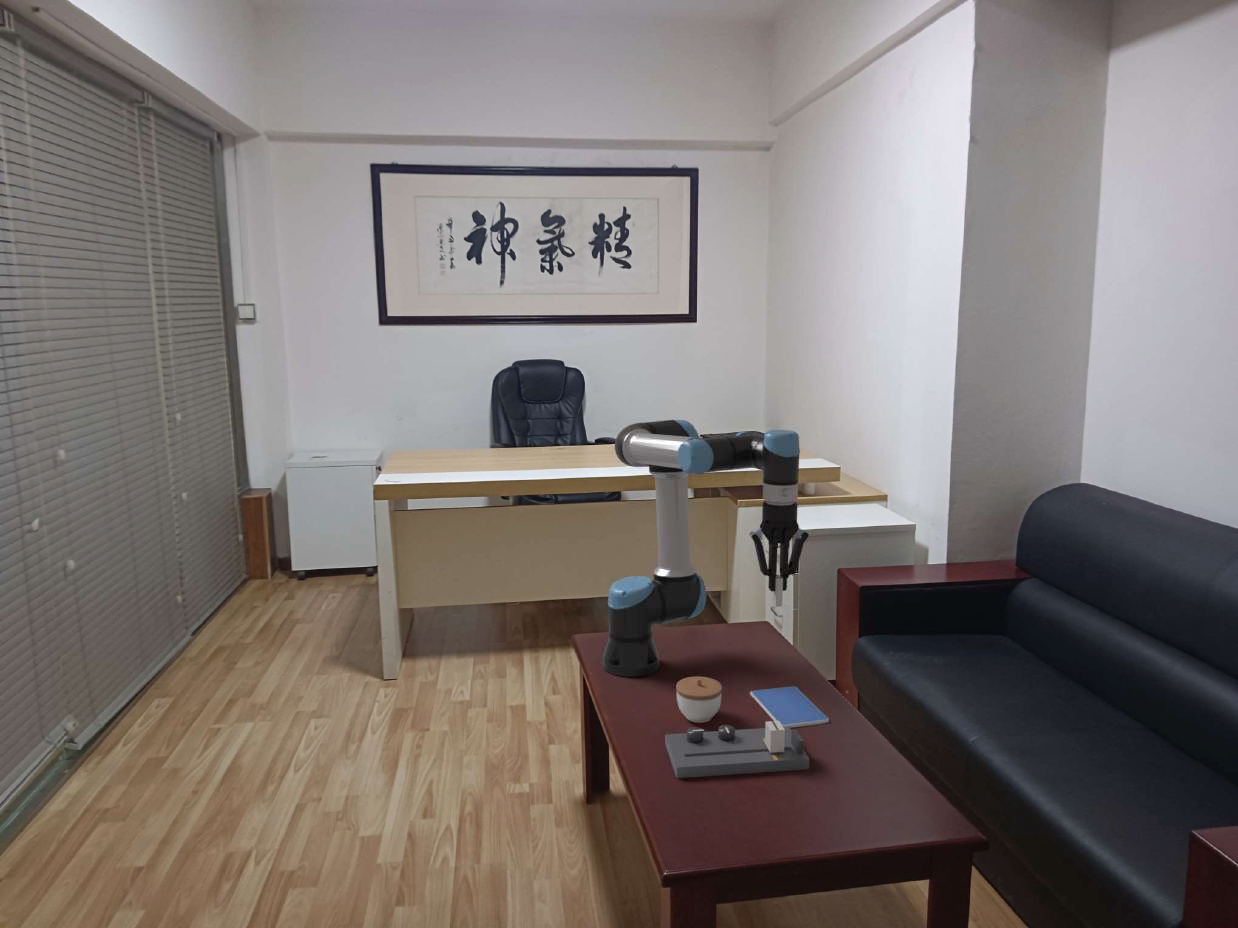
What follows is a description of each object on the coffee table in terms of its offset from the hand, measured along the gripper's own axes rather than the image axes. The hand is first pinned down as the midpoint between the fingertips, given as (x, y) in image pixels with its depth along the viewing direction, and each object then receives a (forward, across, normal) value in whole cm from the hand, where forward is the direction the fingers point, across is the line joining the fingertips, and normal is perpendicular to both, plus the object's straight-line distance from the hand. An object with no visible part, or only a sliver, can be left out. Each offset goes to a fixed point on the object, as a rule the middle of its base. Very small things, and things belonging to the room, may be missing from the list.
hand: (777, 604), depth 199 cm
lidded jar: (+30, -16, +7) cm, 34 cm away
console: (+29, -12, -12) cm, 34 cm away
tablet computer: (+30, +6, +9) cm, 32 cm away
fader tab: (+27, -4, -14) cm, 30 cm away
